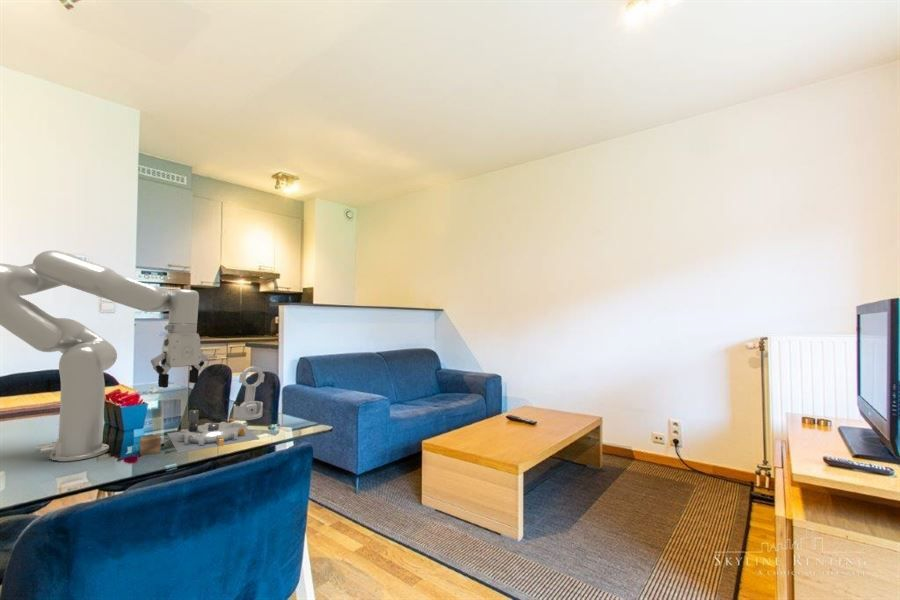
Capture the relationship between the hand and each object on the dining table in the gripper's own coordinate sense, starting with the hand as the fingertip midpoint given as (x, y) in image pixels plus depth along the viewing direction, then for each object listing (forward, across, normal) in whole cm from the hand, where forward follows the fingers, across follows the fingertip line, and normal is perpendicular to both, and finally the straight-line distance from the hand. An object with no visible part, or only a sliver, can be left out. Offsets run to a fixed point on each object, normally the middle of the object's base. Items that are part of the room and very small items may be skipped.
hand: (178, 384), depth 128 cm
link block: (+19, -9, -3) cm, 21 cm away
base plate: (+18, +9, -6) cm, 21 cm away
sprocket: (+17, +9, -6) cm, 20 cm away
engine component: (+19, +32, +4) cm, 37 cm away
